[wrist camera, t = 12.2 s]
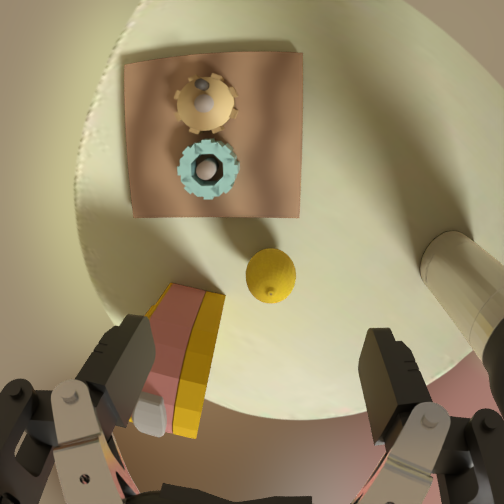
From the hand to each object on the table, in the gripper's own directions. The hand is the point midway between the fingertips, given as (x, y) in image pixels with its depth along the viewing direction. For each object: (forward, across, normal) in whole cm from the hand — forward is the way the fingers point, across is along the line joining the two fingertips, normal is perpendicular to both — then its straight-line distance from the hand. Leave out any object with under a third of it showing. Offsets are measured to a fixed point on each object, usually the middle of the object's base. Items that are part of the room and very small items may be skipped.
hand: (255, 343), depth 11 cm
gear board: (+26, +6, -6) cm, 27 cm away
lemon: (+26, 0, +9) cm, 28 cm away
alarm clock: (+26, +11, +19) cm, 34 cm away
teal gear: (+24, +6, -2) cm, 25 cm away
